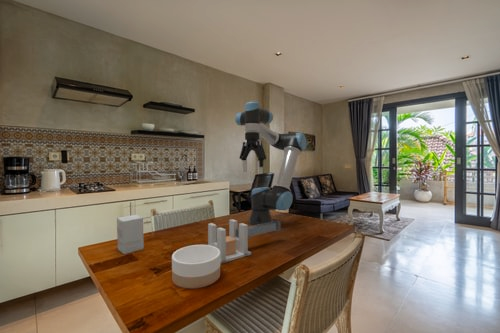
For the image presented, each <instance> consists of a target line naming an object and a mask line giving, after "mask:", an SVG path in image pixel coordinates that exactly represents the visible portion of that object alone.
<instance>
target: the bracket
mask: <svg viewBox="0 0 500 333" xmlns="http://www.w3.org/2000/svg"><path fill="white" fill-rule="evenodd" d="M228 223H229V225H228V227H229V232H228V233H229V235H228V236H230V237H232V238H234V239H236V253H235V254H231V255H228V256H226V237H227V230H226V229H225V228H223V227H217V224H215V223H213V222H210V223H207V245H210V246H214V247H216V248H218V249H219V250H220V265H222V264H224V263H228V262H231V261H234V260H237V259H241V258H244V257H247V256H251V255H252V252H251V251H250V250H248V249H249V248H248V245H249V243H248V238H249V237H248V226H249V225H248V224H245V223H244V222H240V223H238V220H236V219H233V218H232V219H229V220H228ZM238 228H239V238H238V237H236V229H238Z"/></svg>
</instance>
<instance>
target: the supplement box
mask: <svg viewBox="0 0 500 333" xmlns="http://www.w3.org/2000/svg"><path fill="white" fill-rule="evenodd" d="M116 231H117V232H116V235H117V237H116V238H117V250H118V251H119V252H121V254H123V255H126V254H130V253H134V252H138V251H141V250H144V249H145V244H144V243H145V242H144V241H145V238H144V236H145V235H144V218H143V217H142V216H140V215H138V214H131V215H126V216H121V217H117V218H116Z"/></svg>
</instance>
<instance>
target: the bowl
mask: <svg viewBox="0 0 500 333" xmlns="http://www.w3.org/2000/svg"><path fill="white" fill-rule="evenodd" d="M220 276H221V264H220V250H219V249H218V248H216V247H214V246H210V245H208V244H193V245H188V246H187V245H186V246H184V247H181V248H179V249H177V250H176V251H173V253H172V254H171V280H172V282H173V284H174V285H176V286H177V287H180V288H184V289H199V288H203V287H207V286H209V285H212V284H214V283H215V282H217V281H218V280H219V279H220Z"/></svg>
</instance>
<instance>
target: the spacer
mask: <svg viewBox="0 0 500 333" xmlns="http://www.w3.org/2000/svg"><path fill="white" fill-rule="evenodd" d="M235 253H236V239H234V238H232V237H230V236H229V235H226V256H228V255H231V254H235Z"/></svg>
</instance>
